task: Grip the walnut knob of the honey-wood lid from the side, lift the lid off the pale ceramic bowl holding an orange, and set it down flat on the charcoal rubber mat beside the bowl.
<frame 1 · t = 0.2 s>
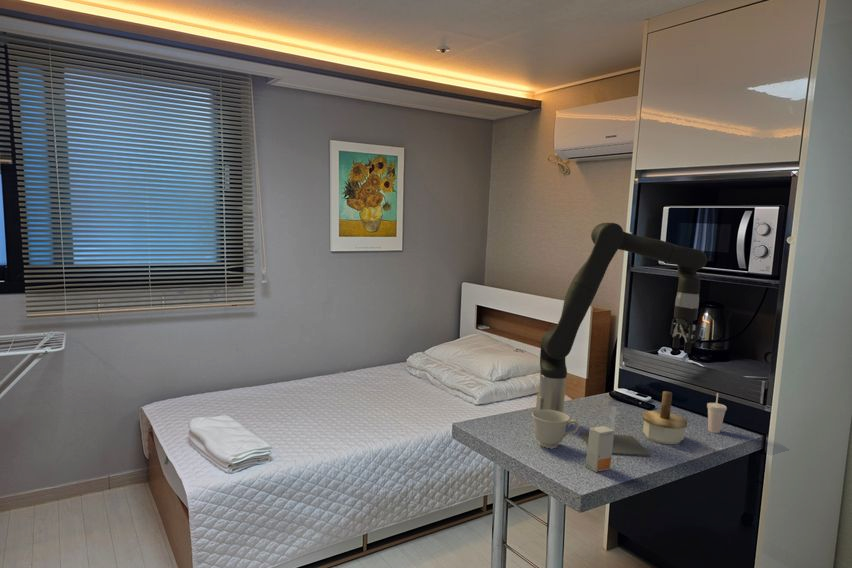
hand: (681, 350, 198), 29 cm above the table, tool pointing down, fingers open, 8 cm apart
smoothie: (713, 431, 202), on the table
bowl: (662, 438, 192), on the table
skincare box: (598, 469, 164), on the table
mat: (613, 445, 183), on the table
teacup: (552, 446, 178), on the table
lid: (664, 421, 191), point 6 cm above the table, touching bowl
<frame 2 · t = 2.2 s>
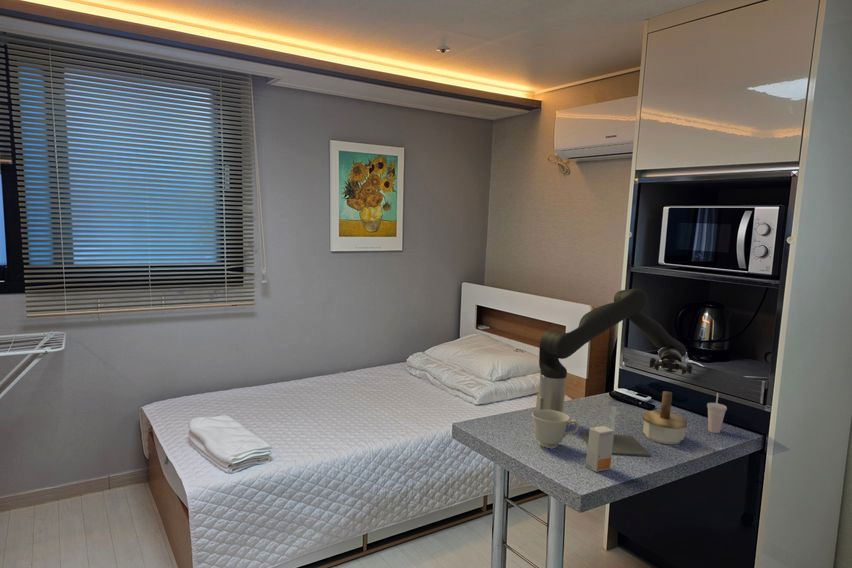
hand: (670, 369, 198), 22 cm above the table, tool horizontal, fingers open, 8 cm apart
nothing on the table moved.
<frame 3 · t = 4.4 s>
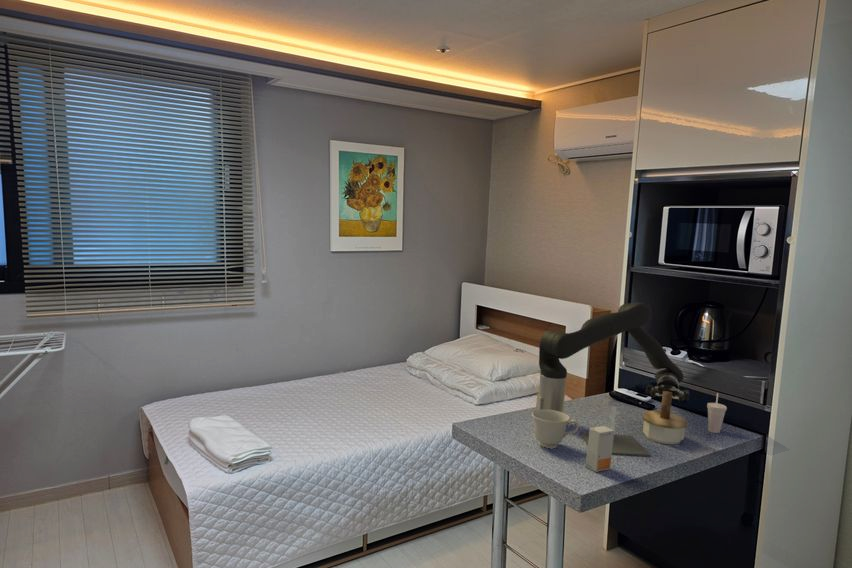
hand: (666, 397, 196), 13 cm above the table, tool horizontal, fingers open, 8 cm apart
nothing on the table moved.
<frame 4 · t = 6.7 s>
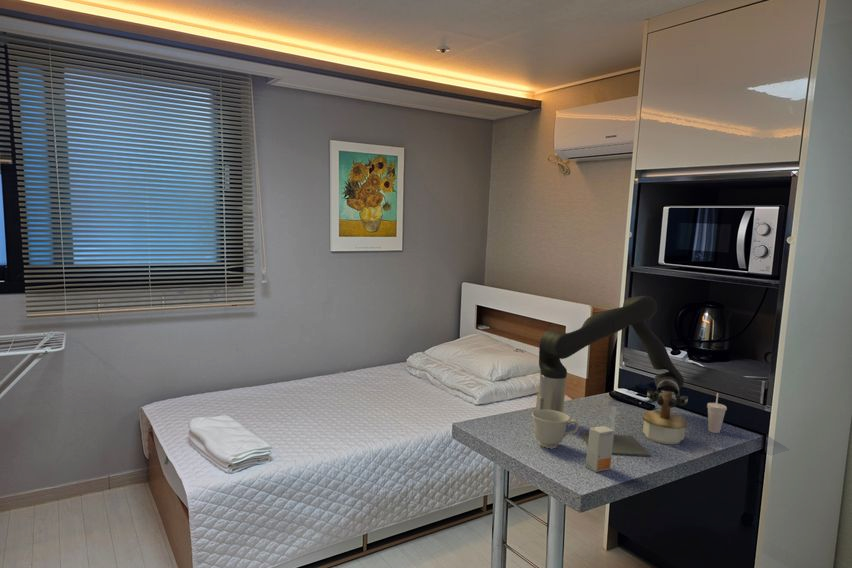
hand: (666, 403, 188), 13 cm above the table, tool horizontal, fingers closed on lid, 3 cm apart
lid: (664, 421, 191), point 6 cm above the table, touching bowl, gripper
everything else where it was.
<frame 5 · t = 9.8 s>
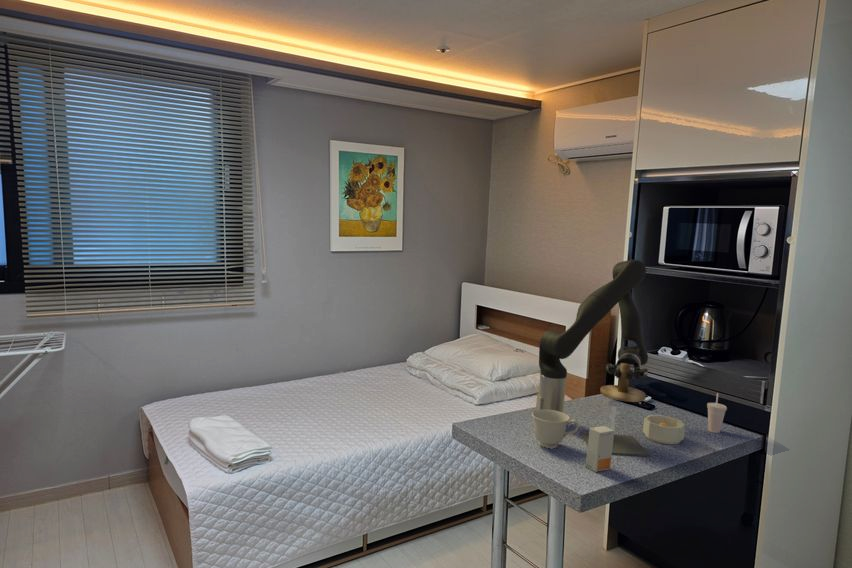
hand: (623, 375, 178), 24 cm above the table, tool horizontal, fingers closed on lid, 3 cm apart
lid: (622, 394, 182), point 17 cm above the table, touching gripper
everything else where it was.
when the fingers open (9 cm above the table, at t = 13.3 s): lid drops 1 cm, resting on mat.
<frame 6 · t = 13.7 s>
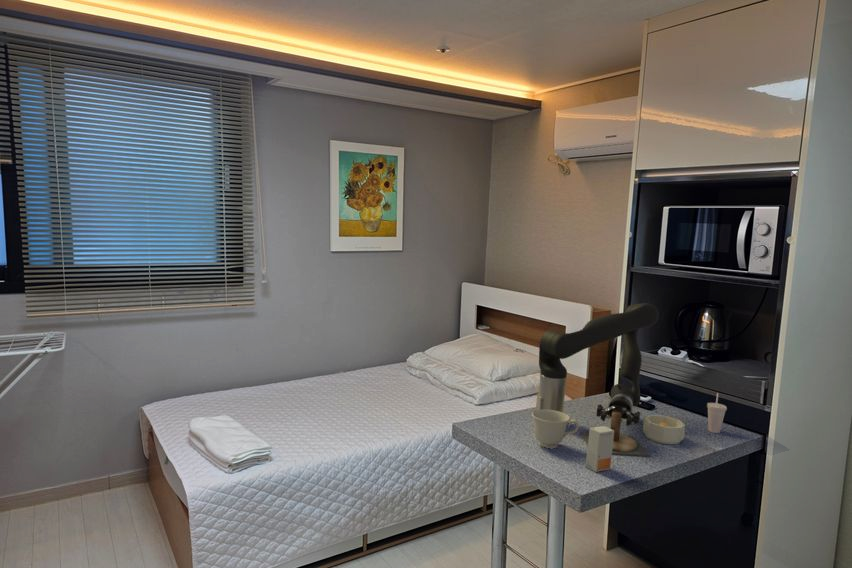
hand: (615, 420, 180), 9 cm above the table, tool horizontal, fingers open, 7 cm apart
lid: (613, 443, 183), point 1 cm above the table, touching mat
everything else where it was.
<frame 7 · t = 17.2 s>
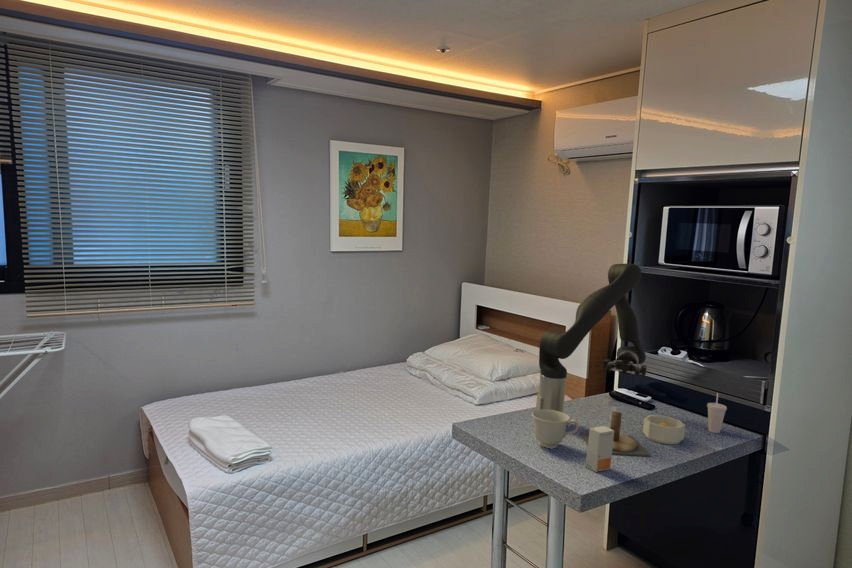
hand: (622, 370, 187), 23 cm above the table, tool horizontal, fingers open, 8 cm apart
nothing on the table moved.
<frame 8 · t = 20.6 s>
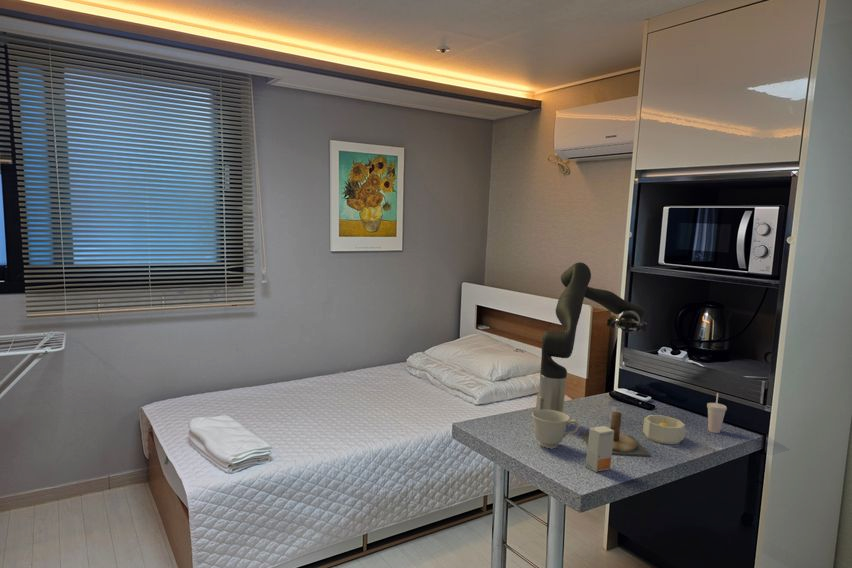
hand: (625, 326, 206), 35 cm above the table, tool horizontal, fingers open, 8 cm apart
nothing on the table moved.
at the end: lid inside the target area on the mat (0.1 cm from its centre), point 0.6 cm above the mat's base; lid touching mat; lid tilted 0° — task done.
